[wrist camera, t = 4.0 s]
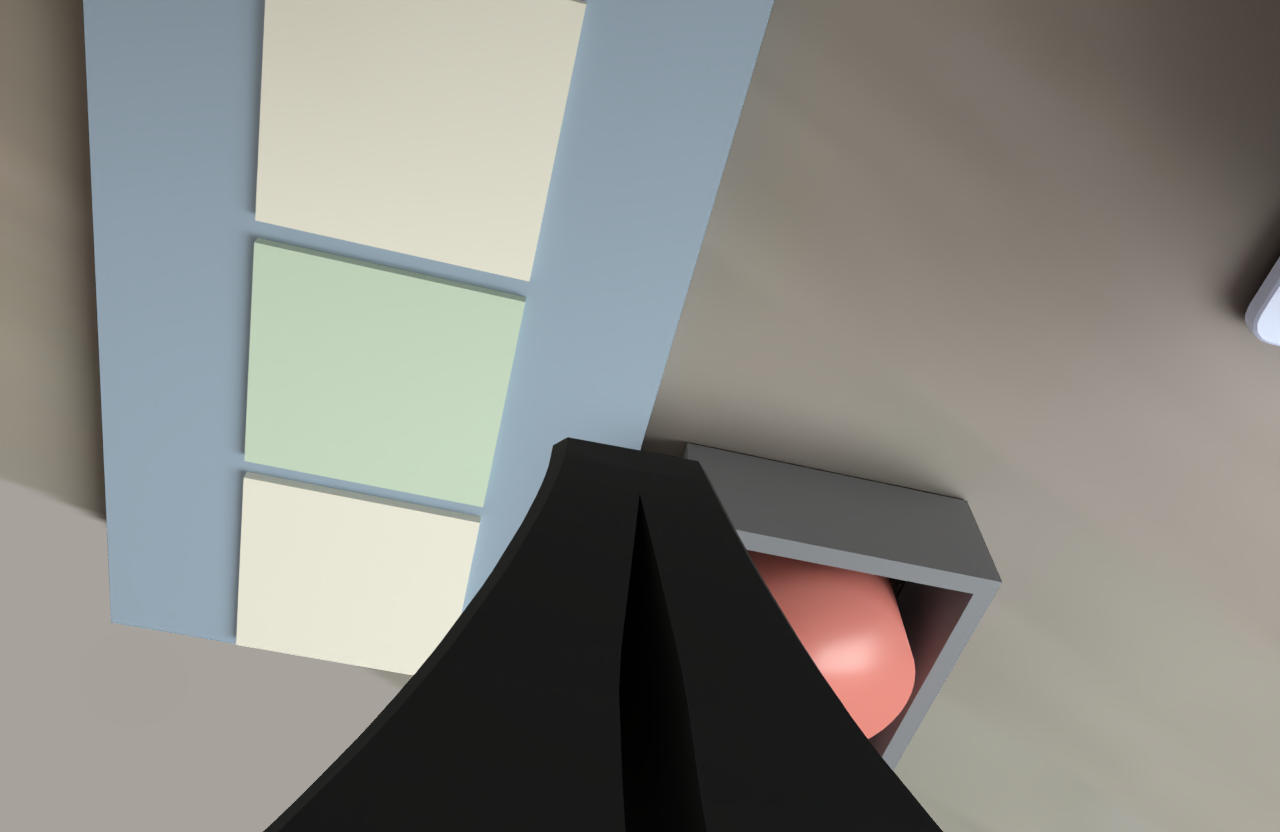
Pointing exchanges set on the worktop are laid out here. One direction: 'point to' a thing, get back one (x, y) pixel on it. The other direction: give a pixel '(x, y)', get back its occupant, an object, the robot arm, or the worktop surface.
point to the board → (381, 288)
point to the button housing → (870, 555)
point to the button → (847, 634)
